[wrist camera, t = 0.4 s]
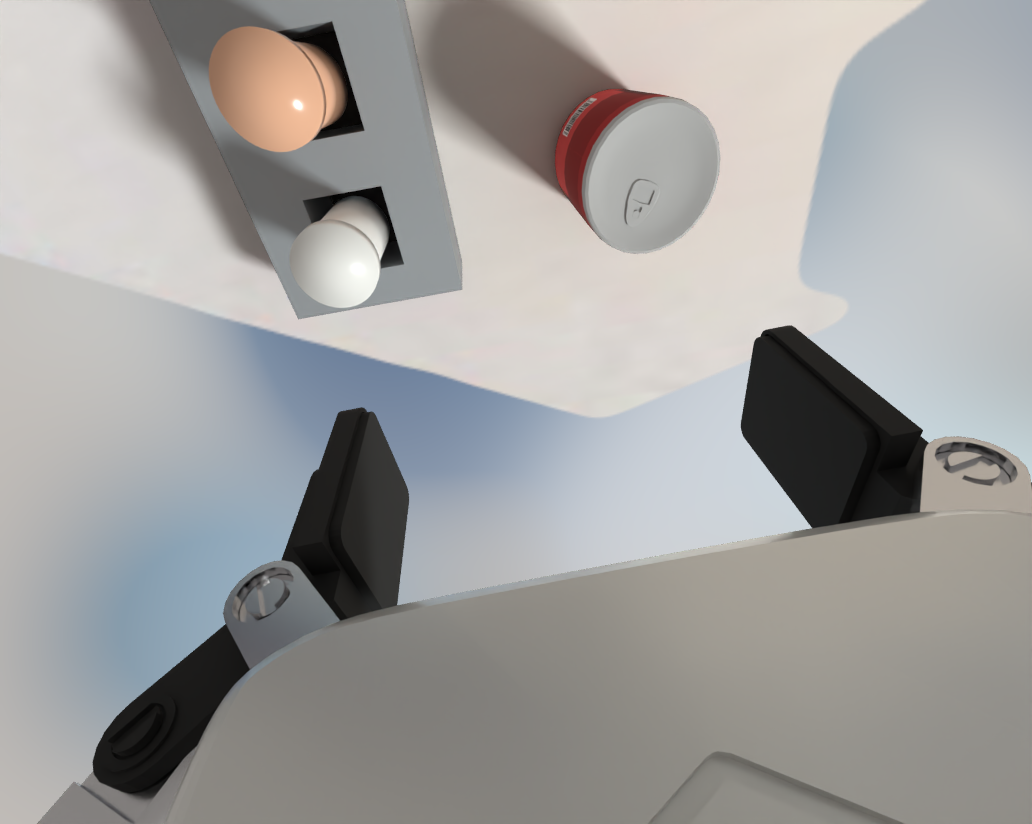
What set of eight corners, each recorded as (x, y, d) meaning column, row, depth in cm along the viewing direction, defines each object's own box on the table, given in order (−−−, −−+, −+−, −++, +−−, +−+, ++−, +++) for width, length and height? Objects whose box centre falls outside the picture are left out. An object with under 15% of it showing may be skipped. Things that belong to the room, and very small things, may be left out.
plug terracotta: (254, 43, 26) (186, 37, 20) (335, 28, 26) (295, 16, 20) (290, 138, 29) (241, 160, 22) (364, 124, 29) (337, 142, 22)
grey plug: (312, 197, 31) (274, 233, 24) (382, 185, 31) (361, 217, 24) (339, 266, 34) (310, 314, 27) (402, 254, 33) (388, 300, 27)
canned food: (549, 210, 37) (577, 256, 28) (556, 86, 32) (592, 95, 23) (644, 210, 38) (701, 254, 29) (665, 88, 33) (740, 97, 24)
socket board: (108, -213, 23) (16, -285, 18) (347, -260, 23) (317, -345, 18) (318, 287, 39) (298, 319, 34) (462, 261, 39) (462, 289, 34)
